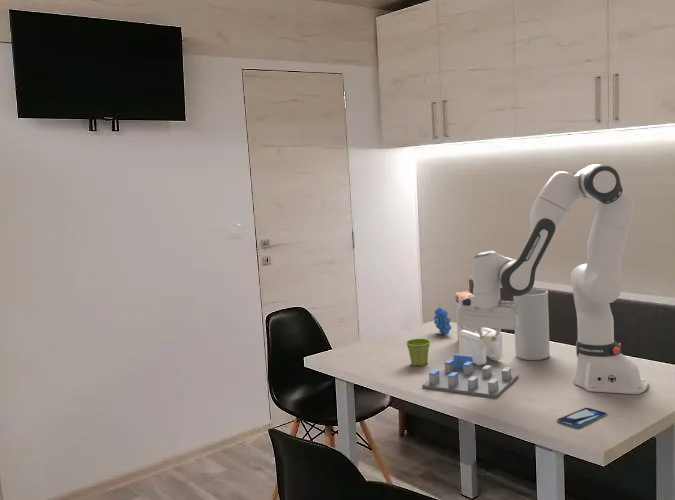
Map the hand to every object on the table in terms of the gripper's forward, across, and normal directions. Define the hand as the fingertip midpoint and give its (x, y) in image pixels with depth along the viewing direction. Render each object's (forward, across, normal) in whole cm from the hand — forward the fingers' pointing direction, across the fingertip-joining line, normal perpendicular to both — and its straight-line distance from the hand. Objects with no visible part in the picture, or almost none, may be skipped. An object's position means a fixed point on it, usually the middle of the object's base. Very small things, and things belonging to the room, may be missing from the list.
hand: (489, 340), depth 223 cm
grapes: (+16, +43, -55) cm, 72 cm away
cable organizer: (+16, +13, -25) cm, 32 cm away
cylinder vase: (+16, -3, -37) cm, 40 cm away
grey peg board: (+15, +7, 0) cm, 17 cm away
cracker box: (+16, +26, -45) cm, 54 cm away
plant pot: (+15, +33, -13) cm, 39 cm away
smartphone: (+16, -34, +17) cm, 41 cm away
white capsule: (0, 0, 0) cm, 0 cm away
